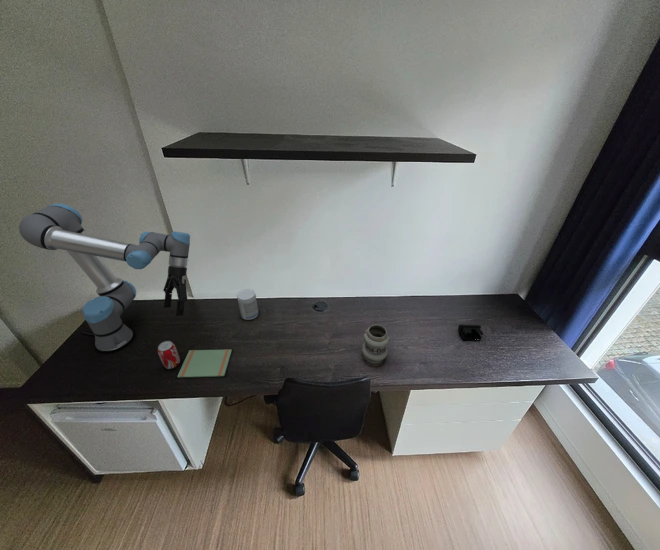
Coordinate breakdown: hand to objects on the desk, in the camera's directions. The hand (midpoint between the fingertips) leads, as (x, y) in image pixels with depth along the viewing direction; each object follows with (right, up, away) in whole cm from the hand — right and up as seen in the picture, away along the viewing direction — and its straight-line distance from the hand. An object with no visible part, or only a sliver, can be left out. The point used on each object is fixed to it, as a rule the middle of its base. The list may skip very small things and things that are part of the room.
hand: (173, 311), depth 134 cm
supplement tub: (+28, -6, +28) cm, 40 cm away
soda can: (+1, -24, -2) cm, 24 cm away
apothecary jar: (+93, -23, +5) cm, 96 cm away
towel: (+16, -24, -1) cm, 28 cm away
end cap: (+146, -16, +19) cm, 148 cm away
